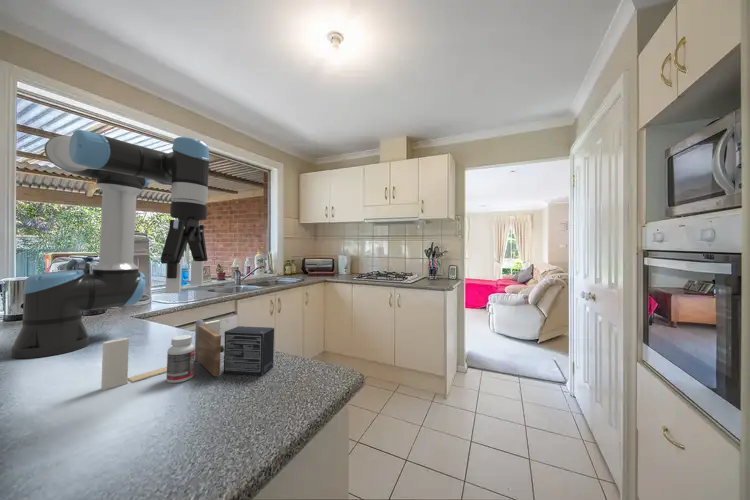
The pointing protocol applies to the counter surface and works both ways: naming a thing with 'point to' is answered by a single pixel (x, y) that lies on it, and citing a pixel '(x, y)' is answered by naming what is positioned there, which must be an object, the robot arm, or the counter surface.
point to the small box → (248, 350)
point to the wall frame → (118, 359)
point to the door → (209, 349)
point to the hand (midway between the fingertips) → (185, 288)
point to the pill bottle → (180, 359)
